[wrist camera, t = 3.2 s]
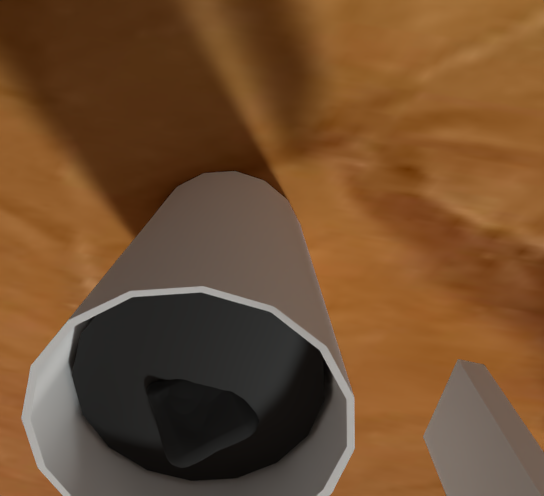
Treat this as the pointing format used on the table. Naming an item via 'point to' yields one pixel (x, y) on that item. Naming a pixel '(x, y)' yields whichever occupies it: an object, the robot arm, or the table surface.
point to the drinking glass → (198, 360)
